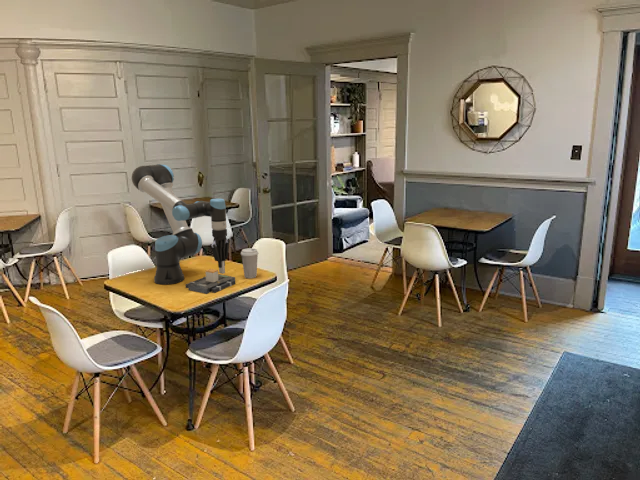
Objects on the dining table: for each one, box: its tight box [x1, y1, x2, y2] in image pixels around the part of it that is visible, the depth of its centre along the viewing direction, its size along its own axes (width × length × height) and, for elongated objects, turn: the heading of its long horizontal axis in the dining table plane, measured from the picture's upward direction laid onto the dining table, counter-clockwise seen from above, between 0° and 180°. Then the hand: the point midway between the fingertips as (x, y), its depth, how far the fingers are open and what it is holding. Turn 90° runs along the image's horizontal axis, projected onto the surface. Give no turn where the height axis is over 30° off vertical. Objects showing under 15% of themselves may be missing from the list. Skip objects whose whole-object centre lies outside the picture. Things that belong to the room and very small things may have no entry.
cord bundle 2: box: [211, 280, 236, 294], centre depth 246 cm, size 3×16×2 cm, turn 151°
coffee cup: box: [240, 247, 259, 279], centre depth 263 cm, size 10×10×15 cm
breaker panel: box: [187, 273, 236, 295], centre depth 249 cm, size 12×22×3 cm, turn 151°
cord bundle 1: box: [184, 276, 206, 289], centre depth 253 cm, size 5×18×2 cm, turn 151°
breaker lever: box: [205, 268, 219, 282], centre depth 248 cm, size 5×4×6 cm
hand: (222, 272), depth 255 cm, fingers closed
